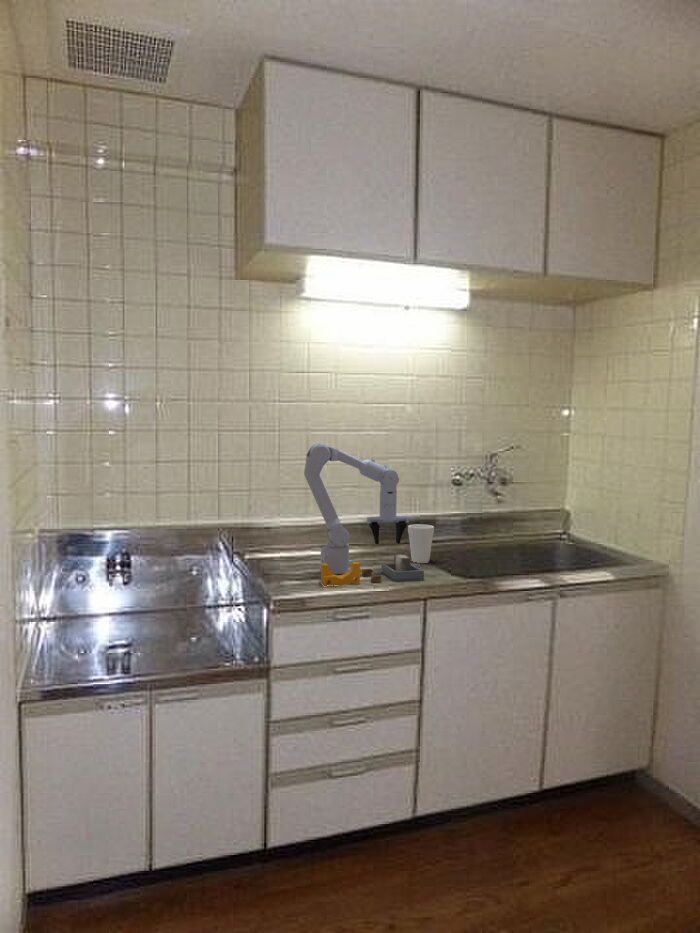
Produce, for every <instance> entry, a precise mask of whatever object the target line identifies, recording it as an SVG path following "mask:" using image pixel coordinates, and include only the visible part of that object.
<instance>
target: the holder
mask: <svg viewBox="0 0 700 933" xmlns="http://www.w3.org/2000/svg"><path fill="white" fill-rule="evenodd" d="M361 576H362V577H370V582H371V583H372V584H374V583H375V584H377V583H378V582H379V583H382V575H380V574H379V575H378V574H377V575H373V569H372V568H364V569H363V568H362V569H361Z"/></svg>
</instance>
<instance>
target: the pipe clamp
mask: <svg viewBox="0 0 700 933" xmlns="http://www.w3.org/2000/svg"><path fill="white" fill-rule="evenodd" d="M320 569H321V570H320V584H321V583H322V584H323V585H324V586H327V585H333V586H332V587H335V586H334V585H344V586H345V585H350V584H349V583H358V584H361V583H360V582H361V579H360V578H361V562H360V563H359V561H352V562H351V565H350V567H349V571H348V572H347V573H345V574H332V573H331V571H330V569H329V565H328V564H327V563H324V564H321V563H320ZM322 584H321V585H322ZM323 585H322V586H323ZM324 586H323V587H324Z"/></svg>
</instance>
